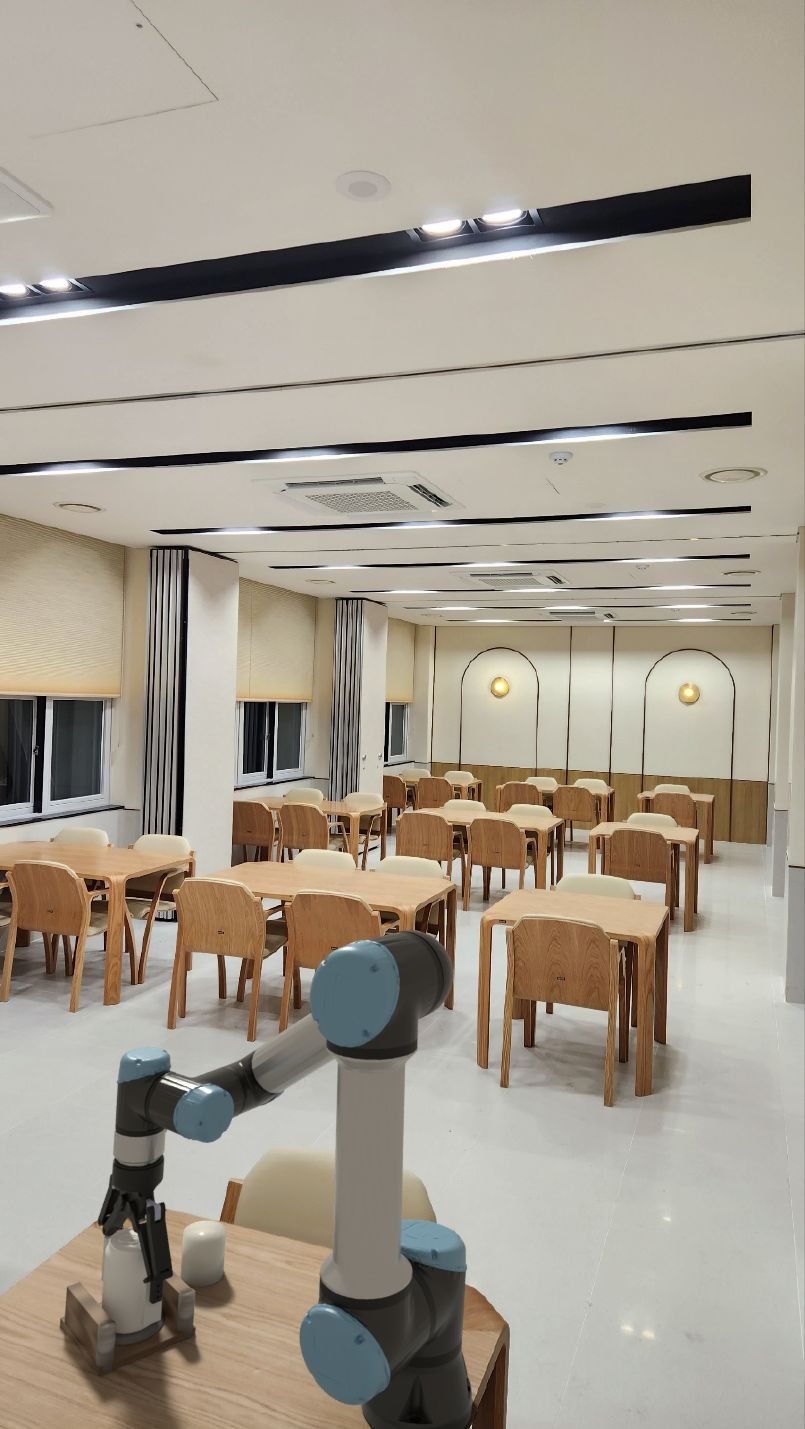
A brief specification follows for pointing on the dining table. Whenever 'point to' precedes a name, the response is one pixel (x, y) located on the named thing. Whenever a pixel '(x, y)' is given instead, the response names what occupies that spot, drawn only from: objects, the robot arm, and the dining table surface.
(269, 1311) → the dining table surface
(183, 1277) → the white pillar candle
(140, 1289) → the beverage can
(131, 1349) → the wooden holder
